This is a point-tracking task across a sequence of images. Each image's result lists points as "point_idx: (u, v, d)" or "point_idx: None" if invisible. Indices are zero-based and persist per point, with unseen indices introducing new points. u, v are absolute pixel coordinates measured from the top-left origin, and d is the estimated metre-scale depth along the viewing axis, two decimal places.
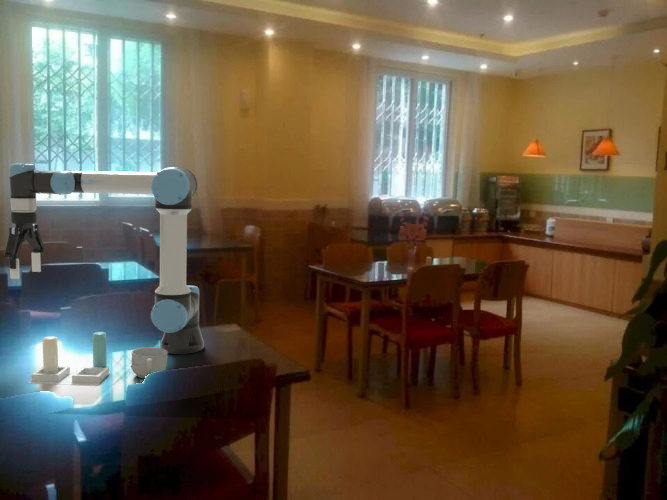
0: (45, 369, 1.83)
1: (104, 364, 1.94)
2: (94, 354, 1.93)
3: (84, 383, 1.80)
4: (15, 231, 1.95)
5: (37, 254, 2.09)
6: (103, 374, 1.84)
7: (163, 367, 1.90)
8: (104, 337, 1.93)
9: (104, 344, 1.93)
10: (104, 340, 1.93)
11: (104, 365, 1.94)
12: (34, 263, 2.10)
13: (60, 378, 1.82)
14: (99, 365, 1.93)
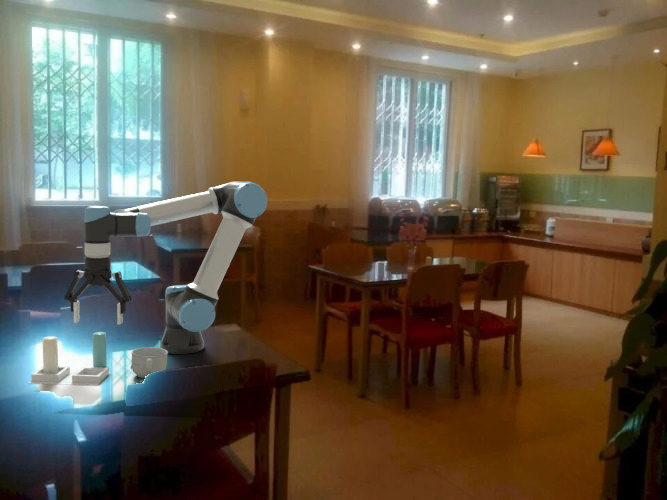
0: (45, 369, 1.83)
1: (104, 364, 1.94)
2: (94, 354, 1.93)
3: (84, 383, 1.80)
4: None
5: None
6: (103, 374, 1.84)
7: (163, 367, 1.90)
8: (104, 337, 1.93)
9: (104, 344, 1.93)
10: (104, 340, 1.93)
11: (104, 365, 1.94)
12: None
13: (60, 378, 1.82)
14: (99, 365, 1.93)
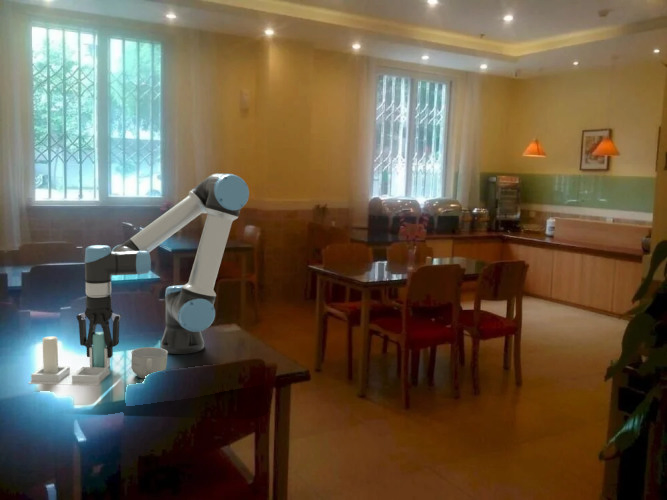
0: (45, 369, 1.83)
1: (104, 364, 1.94)
2: (94, 354, 1.93)
3: (84, 383, 1.80)
4: None
5: None
6: (103, 374, 1.84)
7: (163, 367, 1.90)
8: (104, 337, 1.93)
9: (104, 344, 1.93)
10: (104, 340, 1.93)
11: (104, 365, 1.94)
12: None
13: (60, 378, 1.82)
14: (99, 365, 1.93)
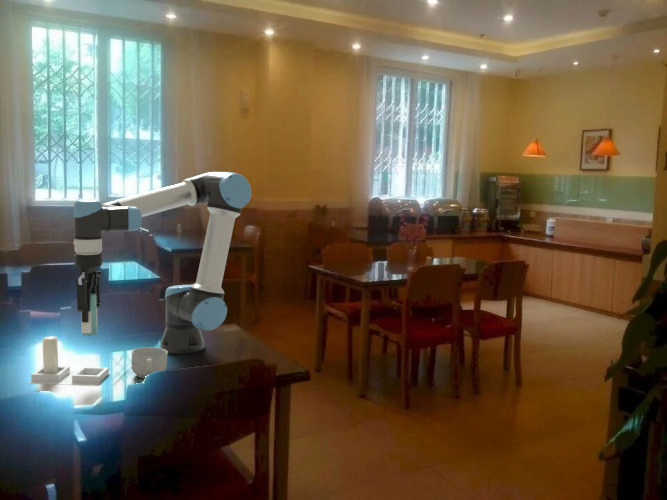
0: (45, 369, 1.83)
1: None
2: (93, 316, 1.82)
3: (84, 383, 1.80)
4: (82, 283, 1.75)
5: None
6: (103, 374, 1.84)
7: (163, 367, 1.90)
8: None
9: None
10: None
11: None
12: None
13: (60, 378, 1.82)
14: (96, 326, 1.84)
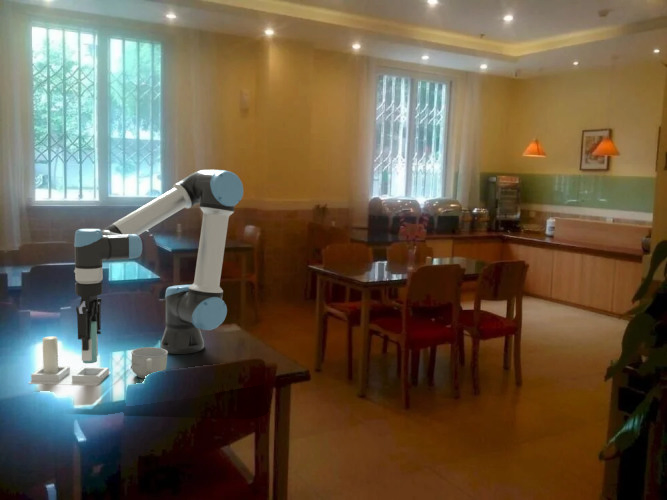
0: (45, 369, 1.83)
1: None
2: (93, 344, 1.83)
3: (84, 383, 1.80)
4: (83, 312, 1.76)
5: None
6: (103, 374, 1.84)
7: (163, 367, 1.90)
8: None
9: None
10: None
11: None
12: None
13: (60, 378, 1.82)
14: (96, 353, 1.85)
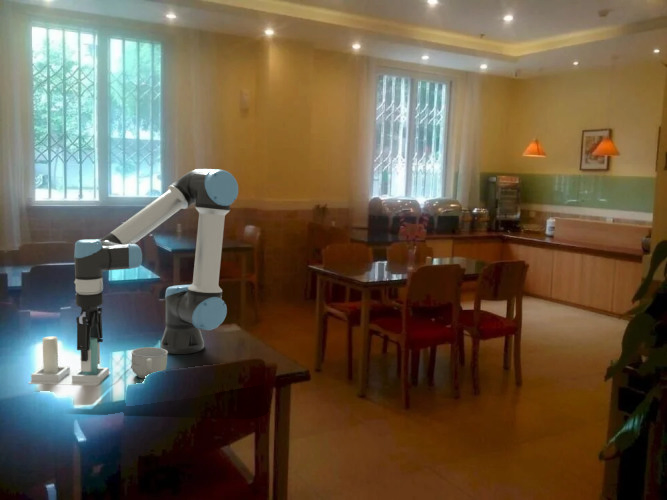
0: (45, 369, 1.83)
1: None
2: (94, 361, 1.83)
3: (84, 383, 1.80)
4: (83, 321, 1.76)
5: None
6: (103, 374, 1.84)
7: (163, 367, 1.90)
8: None
9: None
10: None
11: None
12: None
13: (60, 378, 1.82)
14: (97, 370, 1.85)
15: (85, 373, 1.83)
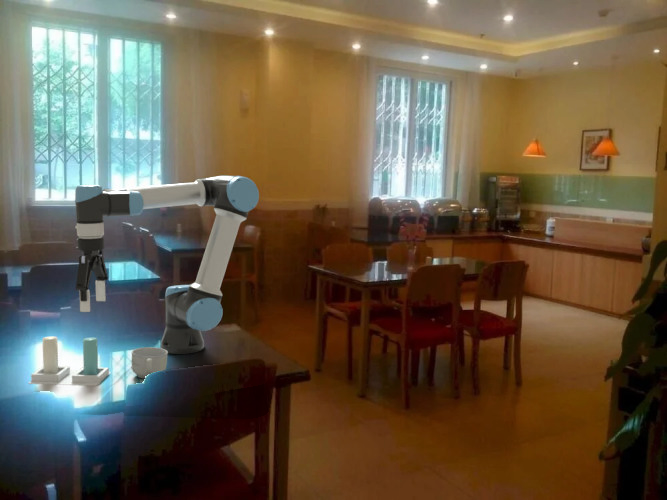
0: (45, 369, 1.83)
1: None
2: (94, 361, 1.83)
3: (84, 383, 1.80)
4: (85, 260, 1.78)
5: (102, 282, 1.92)
6: (103, 374, 1.84)
7: (163, 367, 1.90)
8: None
9: None
10: None
11: None
12: (99, 292, 1.93)
13: (60, 378, 1.82)
14: (97, 370, 1.85)
15: (85, 373, 1.83)
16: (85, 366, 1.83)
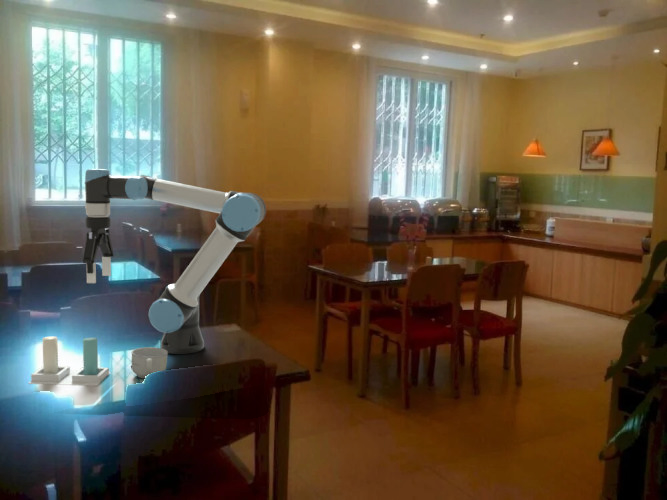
0: (45, 369, 1.83)
1: None
2: (94, 360, 1.83)
3: (84, 383, 1.80)
4: (92, 236, 1.97)
5: (108, 258, 2.11)
6: (103, 374, 1.84)
7: (163, 367, 1.90)
8: None
9: None
10: None
11: None
12: (105, 268, 2.11)
13: (60, 378, 1.82)
14: (97, 370, 1.85)
15: (85, 373, 1.83)
16: (85, 366, 1.83)
